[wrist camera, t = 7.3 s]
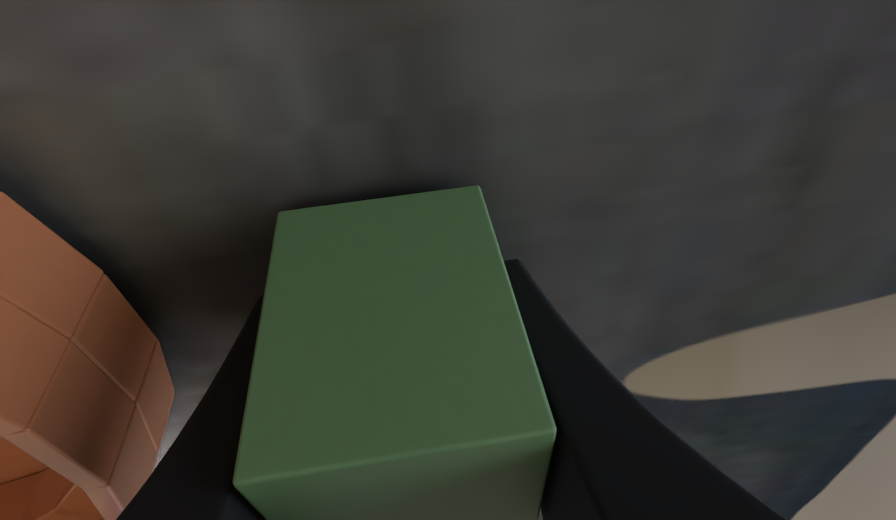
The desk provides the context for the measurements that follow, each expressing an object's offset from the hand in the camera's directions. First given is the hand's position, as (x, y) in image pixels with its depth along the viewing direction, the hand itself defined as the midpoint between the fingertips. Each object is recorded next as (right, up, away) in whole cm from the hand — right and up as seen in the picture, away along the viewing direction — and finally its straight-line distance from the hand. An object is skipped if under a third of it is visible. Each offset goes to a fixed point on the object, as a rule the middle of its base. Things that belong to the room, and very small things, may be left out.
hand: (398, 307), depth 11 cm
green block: (0, +1, +1) cm, 1 cm away
